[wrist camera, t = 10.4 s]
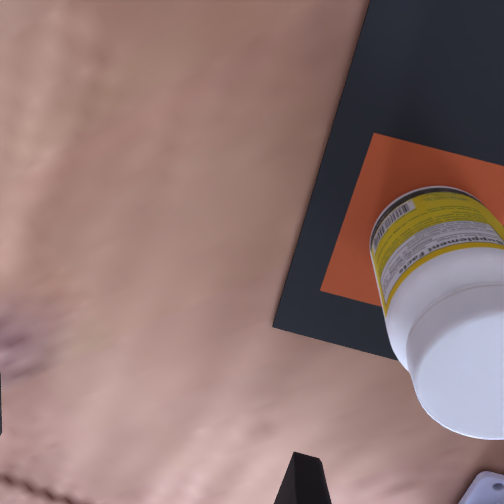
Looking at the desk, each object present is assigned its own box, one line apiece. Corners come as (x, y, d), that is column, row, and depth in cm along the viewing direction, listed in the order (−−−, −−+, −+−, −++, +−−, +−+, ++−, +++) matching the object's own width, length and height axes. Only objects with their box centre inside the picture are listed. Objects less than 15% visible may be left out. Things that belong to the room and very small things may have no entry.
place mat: (873, -276, 12) (882, -281, 12) (484, 381, 22) (486, 384, 22) (481, -369, 12) (483, -375, 12) (272, 324, 22) (272, 327, 22)
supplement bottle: (491, 286, 20) (597, 452, 12) (373, 296, 20) (403, 456, 13) (495, 173, 18) (624, 288, 10) (363, 190, 18) (392, 306, 11)
